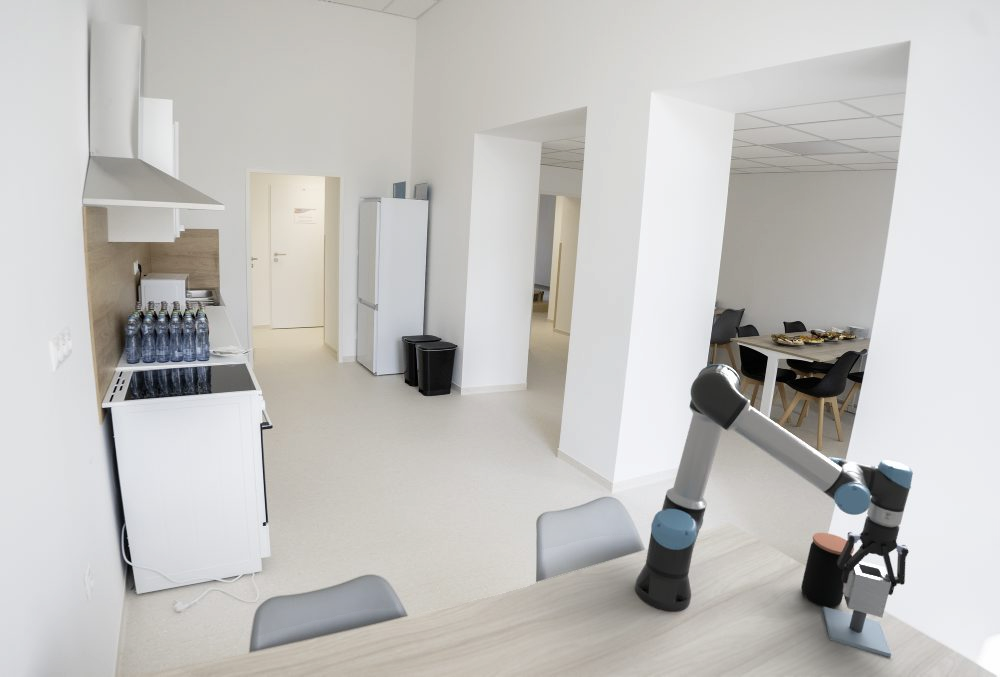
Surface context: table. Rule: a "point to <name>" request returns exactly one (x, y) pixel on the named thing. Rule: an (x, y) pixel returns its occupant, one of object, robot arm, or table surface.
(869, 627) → the blue base with peg
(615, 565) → the table surface
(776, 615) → the table surface
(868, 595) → the square metal tube
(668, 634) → the table surface
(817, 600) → the coffee jar
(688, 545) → the robot arm
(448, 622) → the table surface
